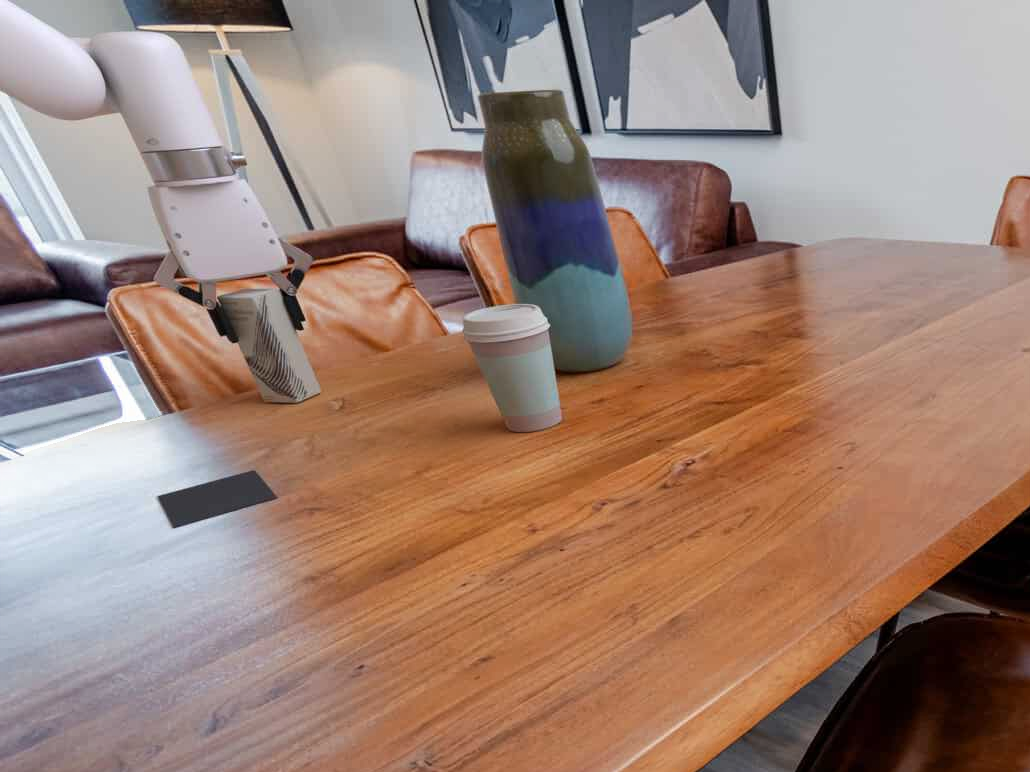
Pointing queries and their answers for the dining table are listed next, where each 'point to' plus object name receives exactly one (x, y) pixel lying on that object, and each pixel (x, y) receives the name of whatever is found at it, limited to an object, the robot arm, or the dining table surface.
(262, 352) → the box
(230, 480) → the edge mat
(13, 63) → the robot arm
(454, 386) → the dining table surface
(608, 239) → the vase
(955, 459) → the dining table surface
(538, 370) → the coffee cup
